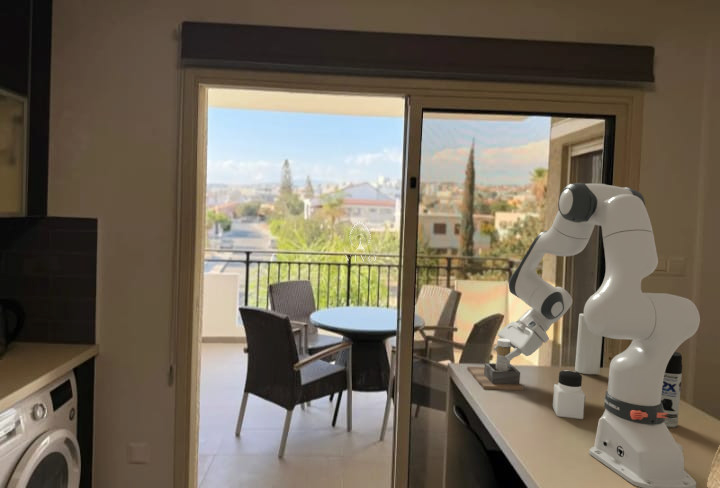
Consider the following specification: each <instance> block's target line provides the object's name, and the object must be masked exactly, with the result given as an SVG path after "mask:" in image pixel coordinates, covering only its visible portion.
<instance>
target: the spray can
mask: <svg viewBox="0 0 720 488" xmlns="http://www.w3.org/2000/svg"><path fill="white" fill-rule="evenodd" d="M682 360H683V357H682V354H681V353H680V352H678V351H675V352H674V353H673V355H672V356H671V358H670V360H669V362H668V364H667V367H666V370H665V373H664V379H663V386H662V394H661V402H662V404H663V408H664V413H668V414H667V415H665V417H668V418H665V425H666V426H667V428H668V429H669V428H671V429H673V428H677V427H678V422H679V413H680V412H679V410H680V400H681V399H680V398H681V388H682V376H683V361H682Z"/></svg>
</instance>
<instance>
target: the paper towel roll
mask: <svg viewBox="0 0 720 488" xmlns="http://www.w3.org/2000/svg"><path fill="white" fill-rule="evenodd" d="M577 328H578V329H577V339H576V351H575V364H574V366H575V367H574V371H575V372H577V373H579V374H584V375H600V369H601V368H600V367H601V356H602V346H603V345H602V344H603V336H600V335H596V334H594V333H592V332H591V331H590V330H589V328H588V327H587V325H586V323H585V320H584V313H579V315H578V327H577Z"/></svg>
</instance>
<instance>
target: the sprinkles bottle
mask: <svg viewBox="0 0 720 488" xmlns="http://www.w3.org/2000/svg"><path fill="white" fill-rule="evenodd" d="M496 345H497V346H498V347H497V352H496V359H495V361H496V362H495V364H496V371H509V368H510V364H511V361H509V360H507V359H506V358H505V355H507V353H510V352H511V348H512V347H511V341H510V340H508V339H503V338H498V339H497V341H496Z"/></svg>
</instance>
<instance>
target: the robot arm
mask: <svg viewBox="0 0 720 488" xmlns="http://www.w3.org/2000/svg"><path fill="white" fill-rule="evenodd" d="M642 194H643V193H641V192H640V191H638V190H636V189H633V188H631V187H621V186H617V185H609V184H606V183H583V182H577V183H576V182H575V183H570V184H568V185H566V186H565V187H564V188H563V189H562V191H561V192H560V194H559V197H558V204H557V205H558V211H557V213H556V215H555V218H554V219H553V221H552V224H551V227H550V228H549V229H548V230H544V231H542V232H540V233H539V234H538V235H537V236H536V237H535V239H534V240H533V241H532V243H531V245H530V246H529V248H528V249H527V251H526V253H525V254H524V256H523V258H522V259H521V261H520V263H519V265H518V267H517V268H516V269H515V270H514V271H513V272H512V274H511V276H510V277H509V279H508V289H509V292H510V293H511V294H512V295H514V296H515V297H517V298H518V299H520V300H521V301H523V302H524V303H525V304H526V305H528V306H529V307H530V309H528V310H527V311H526V312H524V314H522V316H520V317H519V318H518V319H517V321H511V322H509V323H508V324H507V325H505V326H504V327H502V328H501V330H500V331H498V334H497V336H498V337H499V339H501V338H503V339H508V340H510V341H511V348H513V350H512V351H510V353H507V355H505V358H506V359H507V360H509V361H510V362H511V361H512V360H513V359H514V358H516V357H519V356H520V355H521V354H522V355H523V356H525V357H529V356H531V355H533V354H534V353H535V352H536V351H537V350H538V349H540V347H541V346H542V345H543V343H545V344H546V343H547V342H548V341H549V340H550V337H549V336H548V334H547V332H548V331H549V329H550V327H551V326H552V325H553V324H554V323H556V322H558V321H559V320H560V319H561V318H562V317H564V315H565V314H566V312H568V310H569V309H570V308H571V306H572V305H573V298H572V296H571V294H570V293H569V292H568V290H566V289H565V288H563V287H562V286H556V287H555V286H553V285H552V284H550V283H549V282H547V281H546V280H545V279H544V278H542V277H541V276H539V274H538V273H537V267H538V266H539V265H540V263H541V261H542V259H543V258H544V256H545V255H546V254H547V255H549V254H550V255H552V256H556V257H572V256H573V257H574V256H575V255H578V254H579V253H581V252H582V251H584V249H585V248H586V246H587V244H589V242H590V238H591V236H592V233H593V231H594V228H595V226H600V227H601V234H602V235H601V236H602V243H603V250H604V259H605V261H604V262H605V273H604V278H603V281H602V283H601V285H600V286H599V288H598V289H597V290H596V291H595V292H594V294H592V295H590V296H589V298H588V299H587V301H586V302H585V304H584V307H583V314H584V320H585V323H586V325H587V327H588V328H589V330H590V331H591V332H592V333H594V334H596V335H600V336H602V337H605V338H609V339H613V340H632V341H631V343H630V344H629V346H628V347H627V348H626V349H625V350H623V351H622V352H620V353H619V354H616V355H614V357H613V358H612V359H611V361H610V364H609V372H608V384H607V390H606V392H605V395H604V397H603V398H604V404H603V406H604V408H605V409H604V411H603V414H602V415H601V417H600V418H599V419H598V424H597V428H596V434H595V440H594V444H593V445H594V446H591V447H590V448H589V450H588V451H589V452H588V454H589V455H590V456H591V457H593V458H594V459H596V460H598V461H599V462H600V463H602V464H603V465H604V466H606V467H607V468H609V469H610V470H612V471H614V473H616V474H617V475H619V477H622V478H623V479H624V480H626V481H628V482H629V484H632V486H633V485H634V486H636V487H639V488H697V487H698V486H697V483H698V482H696V480H695V479H694V478H693V477H692V476H691V475H690V474H689V473H688V472H687V471H686V470H685V459H684V453H683V452H684V449H683V446H682V445H681V444H680V443H677V442H676V440H675V438H674V437H673V435H672V433H671V431H670V430H669V427H667V426H666V425H665V418H668V417H665V415H667V414H668V413H664V408H663V404H662V402H661V394H662V386H663V379H664V373H665V370H666V367H667V364H668V362H669V360H670V358H671V356H672V355H673V353H674V352H676V350H677V349H678V348H679V347H680V346H681V345H682V344H683V343H684V342H685V341H686V340H688V339H690V338H691V337H693V336H694V335H696V332H697V331H698V329H699V327H700V321H701V317H700V312H699V310H698V308H697V306H696V305H695V303H694V302H693V301H692V300H690V299H689V298H686V297H684V296H680V295H675V294H672V293H671V294H670V293H664V292H662V293H660V292H659V293H658V292H656V293H655V292H643V291H642V280H643V279H645V278H647V277H648V276H650V275H651V274H652V273H654V271H656V269H657V267H658V264H659V258H658V252H657V247H656V243H655V241H656V240H655V236H654V231H653V230H654V229H653V227H652V223H651V220H650V216H649V213H648V211H647V208H646V202H645V197H644V196H643V195H642ZM497 347H498V346H497V344H496V345H495V346H494V347H493V350H494V351H495V352H496V353H497Z"/></svg>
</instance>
